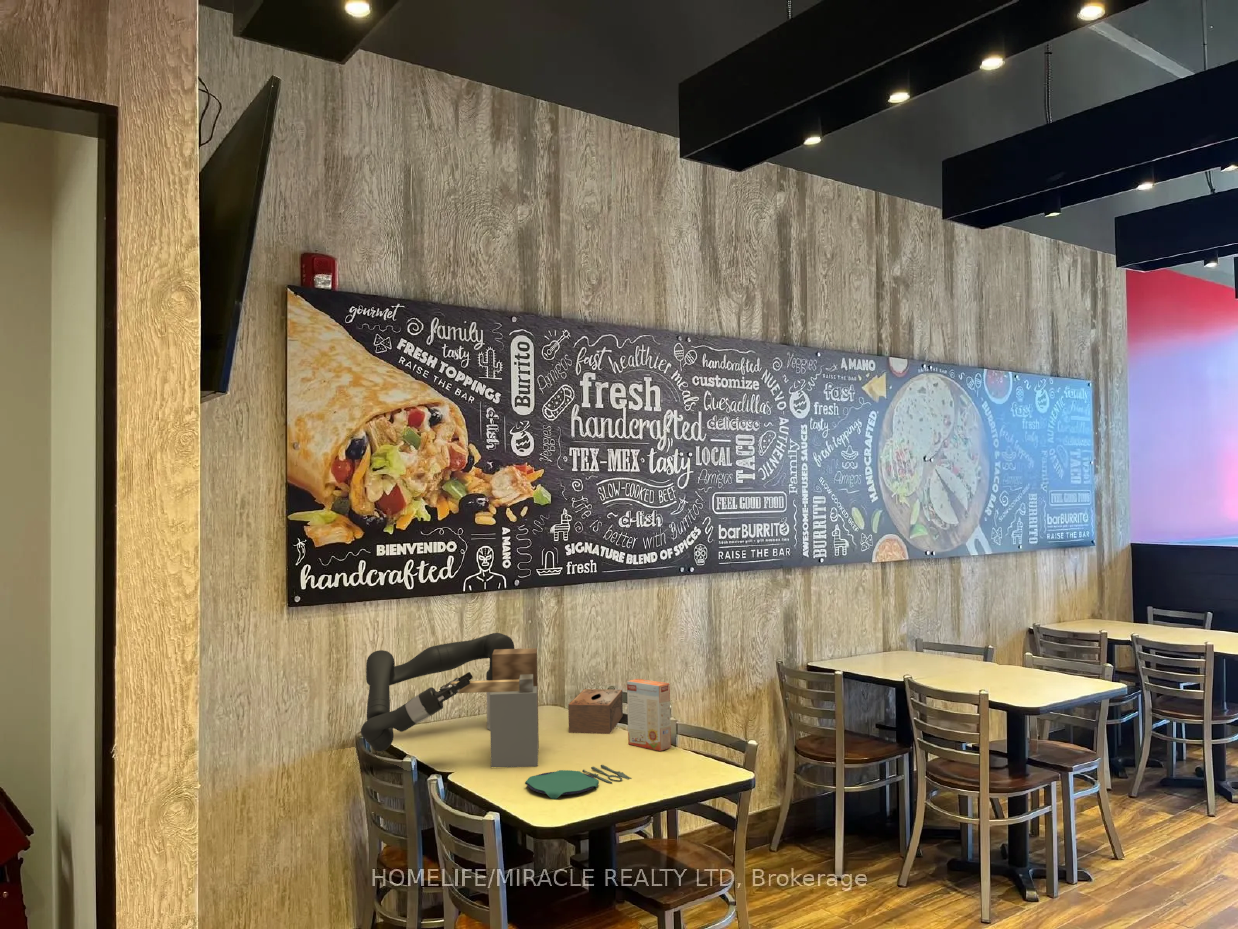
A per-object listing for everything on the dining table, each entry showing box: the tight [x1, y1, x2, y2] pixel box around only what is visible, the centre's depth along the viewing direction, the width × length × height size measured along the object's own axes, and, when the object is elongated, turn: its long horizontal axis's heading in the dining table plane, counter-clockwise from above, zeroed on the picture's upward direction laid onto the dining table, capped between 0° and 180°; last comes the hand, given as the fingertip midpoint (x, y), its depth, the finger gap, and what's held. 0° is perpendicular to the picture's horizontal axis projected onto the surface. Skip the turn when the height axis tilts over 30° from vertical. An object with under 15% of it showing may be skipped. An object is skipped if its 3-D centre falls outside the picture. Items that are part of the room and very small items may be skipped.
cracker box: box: [626, 678, 672, 752], centre depth 292 cm, size 14×6×21 cm, turn 47°
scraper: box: [451, 674, 533, 694], centre depth 277 cm, size 25×8×4 cm, turn 94°
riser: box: [492, 647, 540, 750], centre depth 289 cm, size 14×10×32 cm
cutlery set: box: [524, 764, 633, 800], centre depth 255 cm, size 20×30×2 cm, turn 126°
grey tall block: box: [489, 686, 539, 768], centre depth 277 cm, size 14×10×22 cm
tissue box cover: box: [567, 688, 624, 735], centre depth 323 cm, size 26×14×10 cm, turn 170°
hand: (470, 677), depth 277 cm, fingers open, 8 cm apart
